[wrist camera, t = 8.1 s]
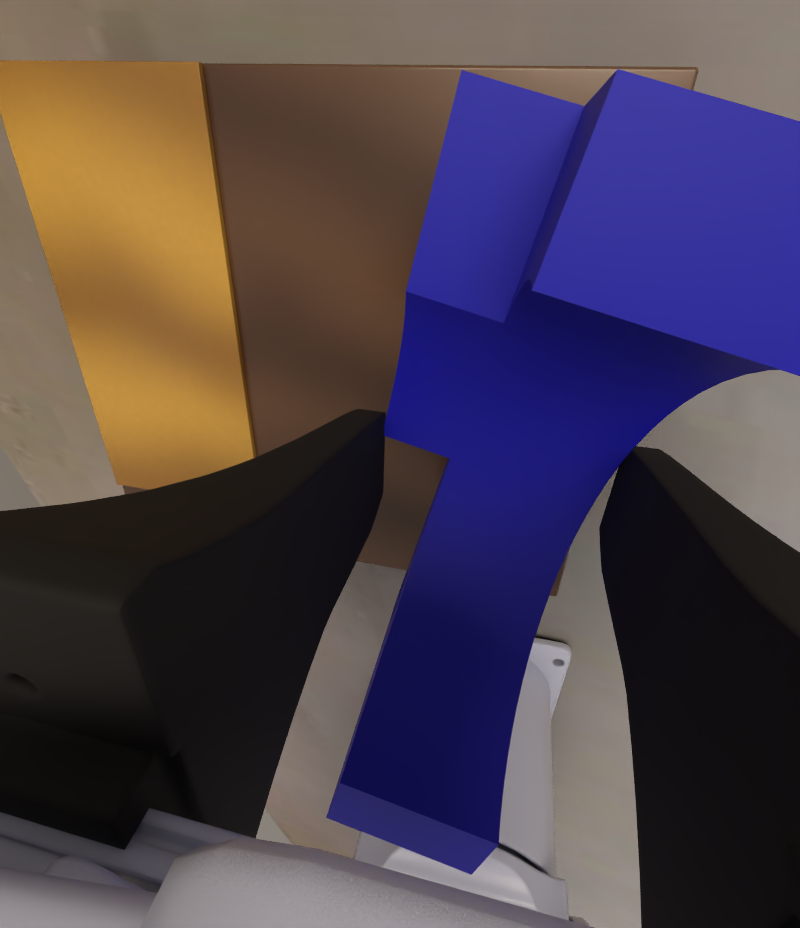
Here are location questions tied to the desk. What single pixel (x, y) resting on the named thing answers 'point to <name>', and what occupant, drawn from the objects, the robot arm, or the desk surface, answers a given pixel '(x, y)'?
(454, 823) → the cable clip
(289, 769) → the desk surface
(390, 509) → the walnut stand
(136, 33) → the desk surface
